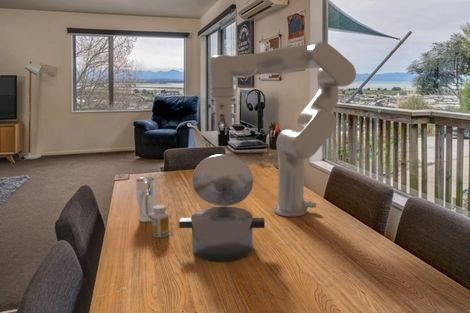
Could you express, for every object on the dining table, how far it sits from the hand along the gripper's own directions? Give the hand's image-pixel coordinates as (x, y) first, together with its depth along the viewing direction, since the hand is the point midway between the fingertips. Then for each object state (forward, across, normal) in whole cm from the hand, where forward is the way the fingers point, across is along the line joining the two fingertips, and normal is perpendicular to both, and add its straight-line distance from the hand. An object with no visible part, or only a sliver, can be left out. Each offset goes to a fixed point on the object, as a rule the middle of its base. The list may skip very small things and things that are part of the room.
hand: (224, 143), depth 128 cm
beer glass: (+28, +1, +29) cm, 40 cm away
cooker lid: (+9, -16, 0) cm, 19 cm away
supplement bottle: (+28, -13, +21) cm, 37 cm away
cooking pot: (+28, -22, 0) cm, 36 cm away
